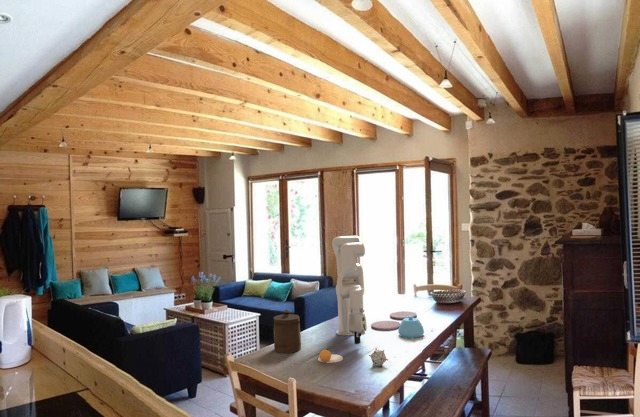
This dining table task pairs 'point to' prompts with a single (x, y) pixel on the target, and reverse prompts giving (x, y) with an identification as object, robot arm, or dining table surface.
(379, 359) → the game die
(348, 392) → the dining table surface
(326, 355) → the ball
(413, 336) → the sugar bowl
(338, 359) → the cream disc
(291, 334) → the wooden container
